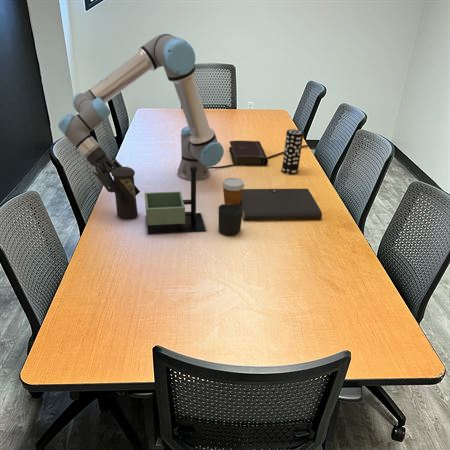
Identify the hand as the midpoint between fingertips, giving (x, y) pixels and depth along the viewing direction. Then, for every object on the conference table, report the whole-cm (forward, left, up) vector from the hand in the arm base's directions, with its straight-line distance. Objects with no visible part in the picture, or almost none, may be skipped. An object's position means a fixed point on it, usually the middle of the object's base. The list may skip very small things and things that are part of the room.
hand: (133, 197), depth 183 cm
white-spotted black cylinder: (-80, -43, -9) cm, 91 cm away
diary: (-62, -64, -9) cm, 89 cm away
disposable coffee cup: (-42, -5, -9) cm, 43 cm away
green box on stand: (-16, +7, -9) cm, 20 cm away
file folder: (-62, -3, -9) cm, 63 cm away
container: (+3, -2, -9) cm, 9 cm away
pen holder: (-37, +15, -9) cm, 41 cm away
